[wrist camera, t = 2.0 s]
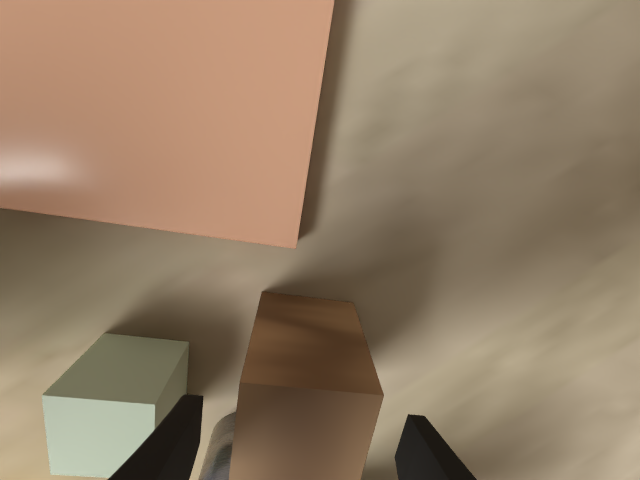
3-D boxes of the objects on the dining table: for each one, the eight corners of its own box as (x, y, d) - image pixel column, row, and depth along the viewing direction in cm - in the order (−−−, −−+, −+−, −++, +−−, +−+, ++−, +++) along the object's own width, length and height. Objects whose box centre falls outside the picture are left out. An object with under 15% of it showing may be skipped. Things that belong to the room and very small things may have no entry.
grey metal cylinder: (209, 462, 18) (185, 546, 14) (214, 407, 17) (190, 484, 13) (278, 466, 19) (273, 549, 15) (288, 413, 18) (285, 489, 14)
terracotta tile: (-17, 197, 13) (-41, 201, 12) (-79, -238, 9) (-122, -280, 8) (296, 241, 14) (295, 248, 14) (351, -121, 11) (357, -146, 10)
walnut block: (252, 368, 17) (227, 489, 11) (262, 291, 15) (239, 382, 10) (336, 376, 17) (355, 496, 11) (353, 302, 16) (383, 395, 10)
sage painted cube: (107, 397, 17) (50, 474, 13) (105, 332, 15) (41, 395, 12) (186, 404, 17) (153, 480, 13) (189, 340, 16) (155, 404, 12)
